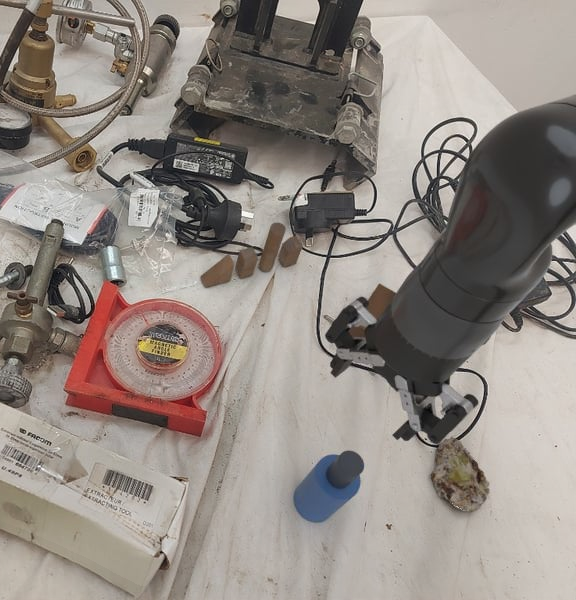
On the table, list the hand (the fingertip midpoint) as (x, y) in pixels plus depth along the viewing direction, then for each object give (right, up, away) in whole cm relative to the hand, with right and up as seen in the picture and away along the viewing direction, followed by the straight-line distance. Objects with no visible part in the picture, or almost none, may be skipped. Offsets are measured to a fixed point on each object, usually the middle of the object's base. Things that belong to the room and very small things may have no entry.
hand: (368, 401), depth 60 cm
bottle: (-1, -17, +20) cm, 26 cm away
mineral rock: (+20, -15, +23) cm, 35 cm away
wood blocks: (-11, +15, +41) cm, 45 cm away
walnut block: (+14, +5, +36) cm, 39 cm away
